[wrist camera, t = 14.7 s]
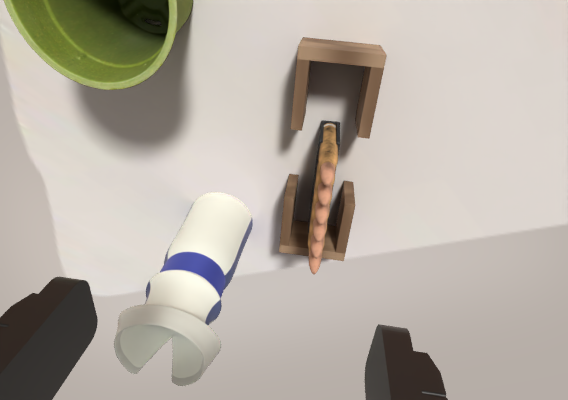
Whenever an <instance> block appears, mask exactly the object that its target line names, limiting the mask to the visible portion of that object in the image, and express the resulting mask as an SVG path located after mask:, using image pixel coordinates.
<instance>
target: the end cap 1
mask: <svg viewBox="0 0 568 400" xmlns="http://www.w3.org/2000/svg"><path fill="white" fill-rule="evenodd" d="M311 60H312V61H321V62H330V63H340V64H349V65H358V66H365V69H364V74H363V80H362V85H361V90H360V96H359V101H358V107H357V112H356V118H355V121H356V128H357V135H358V137H361V138H369V137H370V132H371V127H372V123H373V118H374V113H375V108H376V103H377V99H378V94H379V89H380V84H381V79H382V75H383V70H384V65H385V60H386V53H385V52H384V50H383V49H382V47H381V46H380V45H372V44H362V43H353V42H343V41H333V40H324V39H314V38H304V37H303V38H302V40H301V42H300V44H299V46H298V55H297V65H296V76H295V87H294V98H293V108H292V119H291V129H293V130H301V131H302V127H303V122H304V118H305V113H306V104H307V95H308V86H309V77H310V68H311Z"/></svg>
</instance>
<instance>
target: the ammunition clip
mask: <svg viewBox="0 0 568 400" xmlns="http://www.w3.org/2000/svg"><path fill="white" fill-rule="evenodd" d="M339 146H340V123H339V122H332V121H323V120H322V121H321V128H320V136H319V144H318V151H317V159H316V167H315V175H314V182H313V190H312V198H311V206H310V214H309V224H308V233H309V235H308V247H309V266H310V269H311V272H312V273H313V274H315V273H316V272H317V271H318V269H319V267H320V263H321V257H322V250H323V247H324V243H325V234H326V230H327V221H328V217H329V210H330V202H331V199H332V190H333V184H334V181H335V171H336V165H337V162H338V152H339Z"/></svg>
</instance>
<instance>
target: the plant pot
mask: <svg viewBox="0 0 568 400" xmlns="http://www.w3.org/2000/svg"><path fill="white" fill-rule="evenodd" d="M4 2H5V5H6V8H7V10H8V12H9V14H10V16H11V18H12V20H13V22H14V24H15V25H16V27H17V29H18V30H19V32H20V33H21V35H22V36H23V38H24V39H25V40H26V42H27V43H28V44H29V45H30V47H31V48H32V49H33V50H34V51H35V52H36V53H37V54H38V55H39V56H40V57H41V58H42V59H43V60H44V61H45V62H46V63H47V64H48V65H50V66H51V67H52V68H53V69H55V70H56V71H58V72H59V73H61V74H62V75H64V76H66V77H67V78H69V79H71V80H73V81H75V82H78V83H80V84H82V85H85V86H89V87H93V88H97V89H104V90H115V89H125V88H129V87H132V86H135V85H138V84H140V83H142V82H143V81H145V80H147V79H148V78H149V77H151V76H152V75H153V74H154V73H155V72H156V71H157V70H158V69H159V68H160V67H161V66H162V64H163V63H164V61H165V60H166V58H167V56H168V54H169V52H170V50H171V48H172V45H173V42H174V38H175V34H176V33H177V32H178V31H179V29H180V28H181V27H182V26H183V25H184V23H185V22H186V21H187V19H188V17H189V15H190V12H191V9H192V4H193V0H4ZM145 19H150V20H153V21H160V22H161V25H162V26H160V25H152V24H149V23H146V22H145Z"/></svg>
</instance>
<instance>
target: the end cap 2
mask: <svg viewBox="0 0 568 400" xmlns="http://www.w3.org/2000/svg"><path fill="white" fill-rule="evenodd" d="M297 184H298V175H293V174H289V178H288V183H287V187H286V191H285V196H284V205H283V215H282V226H281V237H280V248H279V252H282V253H289V254H296V255H303V256H309V247H308V235H309V233H308V224H309V222H302V221H295V220H294V211H295V202H296V193H297ZM354 209H355V198H354V186H353V182H349V181H344V183H343V189H342V194H341V200H340V205H339V211H338V216H337V222H336V226H332V225H327V230H326V234H325V243H324V247H323V250H322V257H321V258H325V259H333V260H340V261H344V257H345V252H346V247H347V243H348V238H349V233H350V228H351V223H352V219H353V214H354Z"/></svg>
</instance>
